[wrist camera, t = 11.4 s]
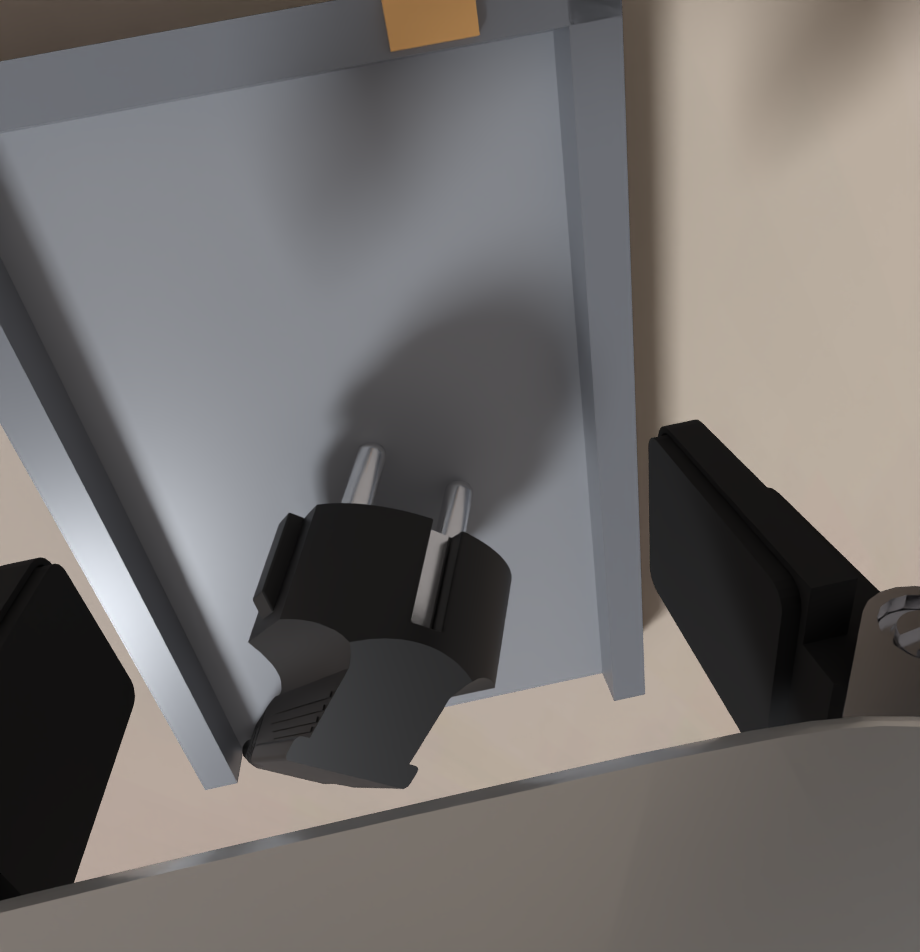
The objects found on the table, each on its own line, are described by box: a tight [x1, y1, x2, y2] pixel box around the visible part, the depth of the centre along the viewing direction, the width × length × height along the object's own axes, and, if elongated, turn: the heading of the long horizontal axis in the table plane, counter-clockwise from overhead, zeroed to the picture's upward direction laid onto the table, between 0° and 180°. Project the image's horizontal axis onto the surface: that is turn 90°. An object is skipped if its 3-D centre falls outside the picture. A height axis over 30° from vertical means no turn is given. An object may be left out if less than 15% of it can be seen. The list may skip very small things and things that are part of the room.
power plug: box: [242, 442, 512, 789], centre depth 18 cm, size 6×8×12 cm
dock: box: [0, 0, 645, 790], centre depth 17 cm, size 19×14×2 cm
